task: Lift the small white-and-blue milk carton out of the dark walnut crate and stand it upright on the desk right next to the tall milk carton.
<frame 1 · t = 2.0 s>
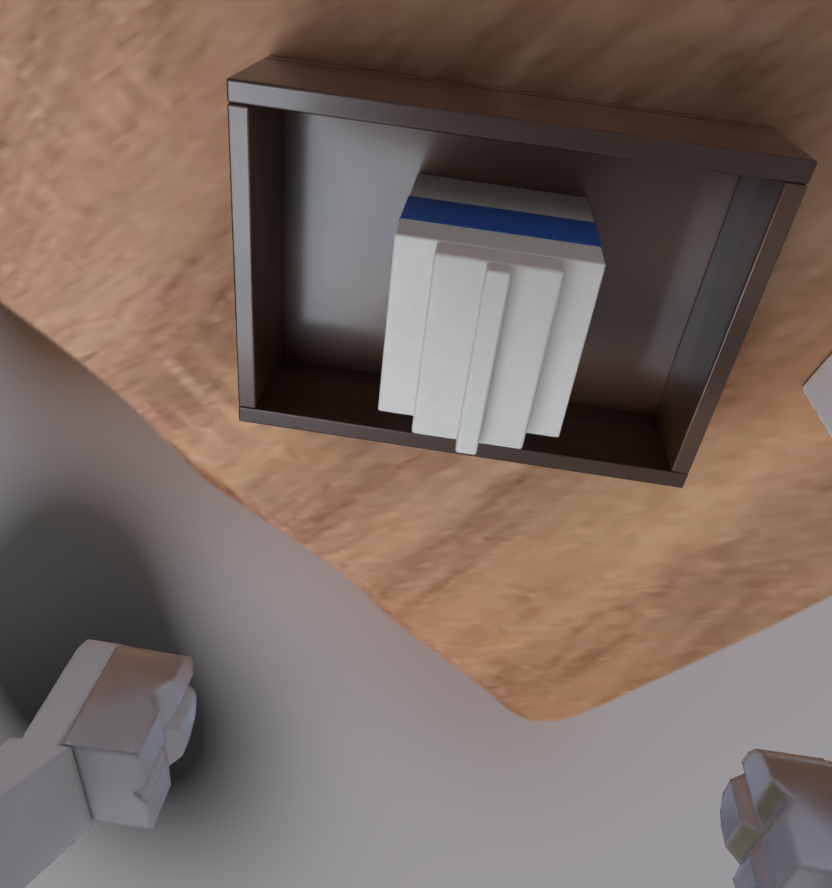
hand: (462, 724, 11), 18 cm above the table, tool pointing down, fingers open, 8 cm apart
crate: (488, 260, 25), on the table
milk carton: (488, 266, 25), resting on crate
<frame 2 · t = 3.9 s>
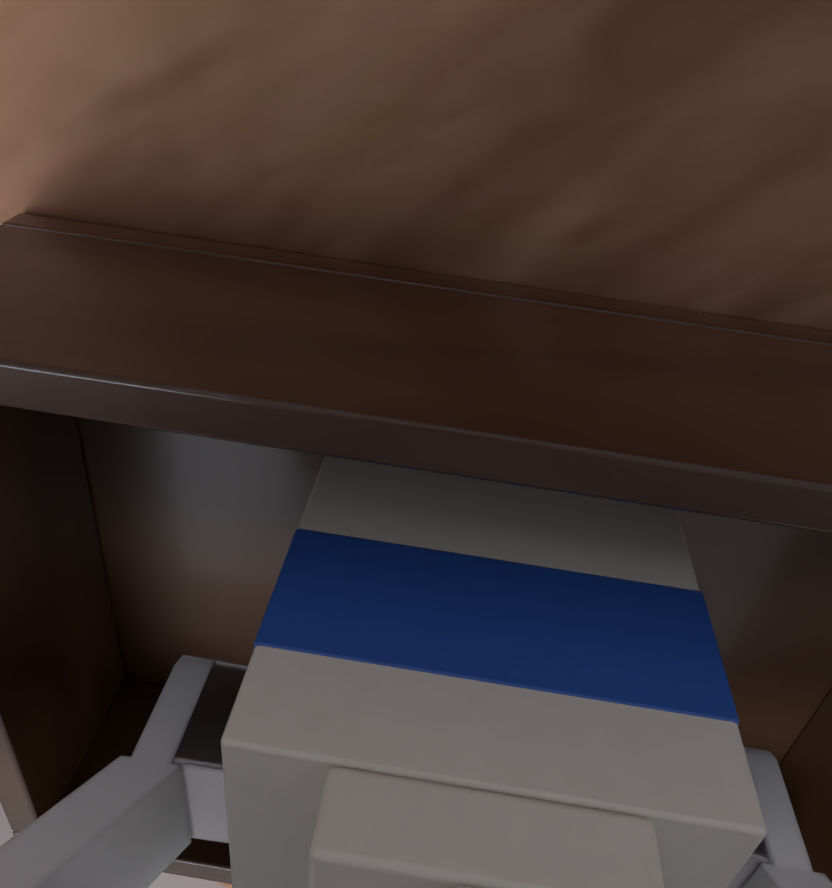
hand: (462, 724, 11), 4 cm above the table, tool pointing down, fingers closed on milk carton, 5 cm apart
crate: (476, 555, 14), on the table
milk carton: (474, 574, 13), resting on crate, touching gripper
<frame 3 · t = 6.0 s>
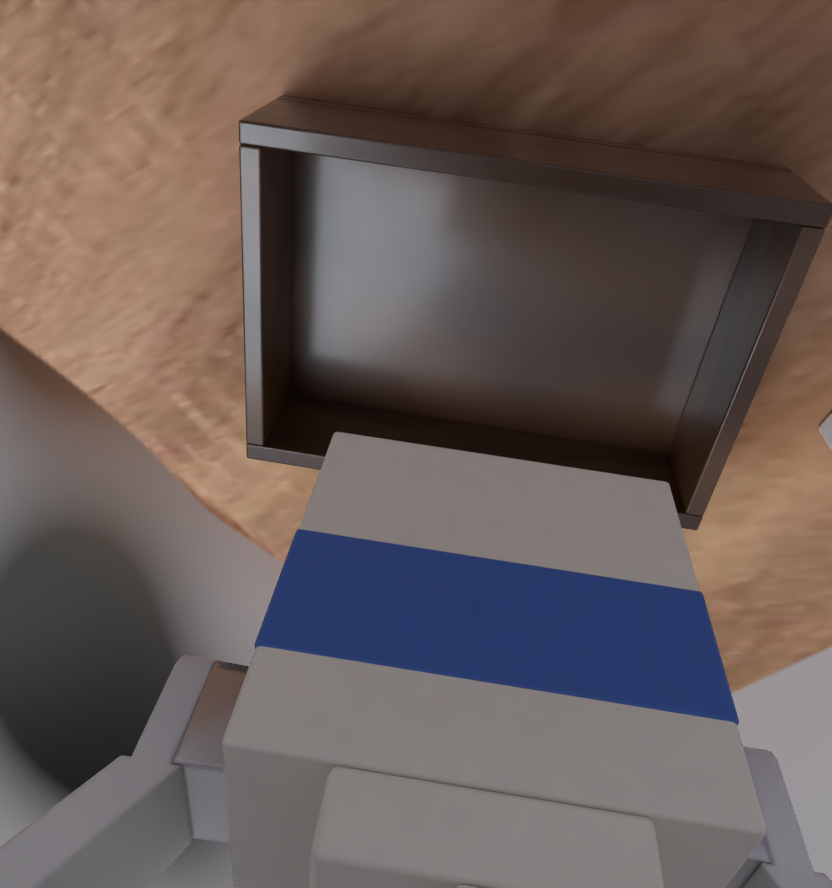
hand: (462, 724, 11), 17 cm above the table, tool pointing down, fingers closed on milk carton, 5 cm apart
crate: (499, 298, 25), on the table
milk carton: (475, 574, 13), point 14 cm above the table, touching gripper
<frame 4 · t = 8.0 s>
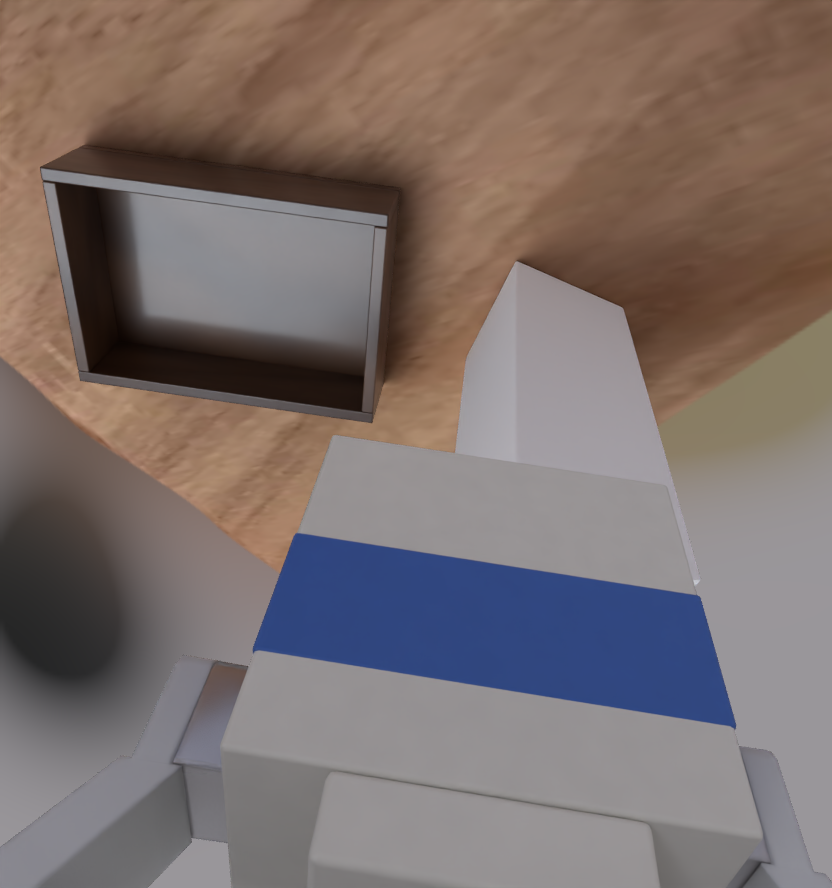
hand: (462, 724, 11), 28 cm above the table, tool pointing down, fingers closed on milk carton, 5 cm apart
crate: (244, 273, 38), on the table
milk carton: (473, 577, 13), point 25 cm above the table, touching gripper
milk: (541, 331, 38), on the table
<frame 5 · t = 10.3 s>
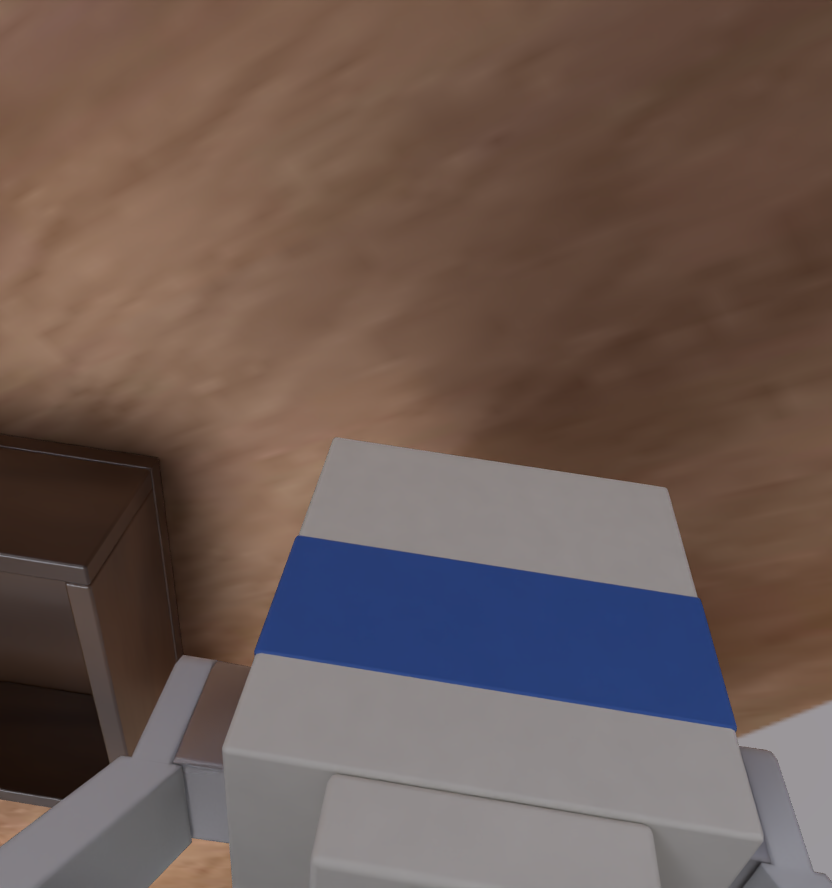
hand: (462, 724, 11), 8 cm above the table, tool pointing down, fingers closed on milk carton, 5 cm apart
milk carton: (474, 579, 13), point 5 cm above the table, touching gripper
when the fingers open (3 cm above the table, at t = 12.1 s): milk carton stays where it is, on the table.
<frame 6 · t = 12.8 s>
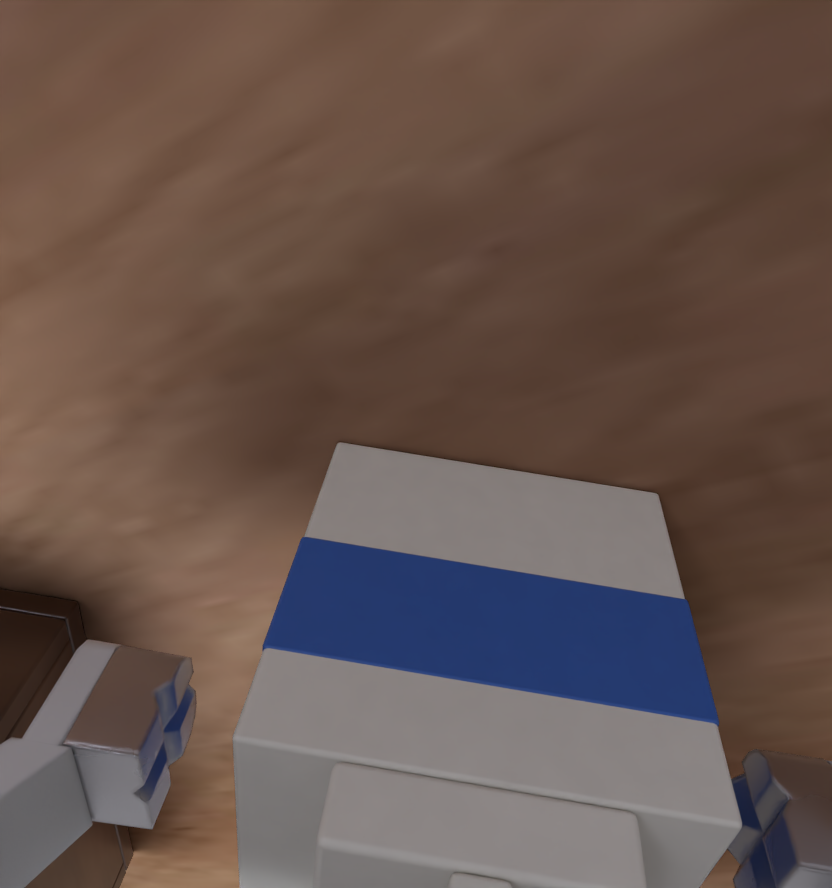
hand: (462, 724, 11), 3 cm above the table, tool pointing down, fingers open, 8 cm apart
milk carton: (471, 580, 14), on the table
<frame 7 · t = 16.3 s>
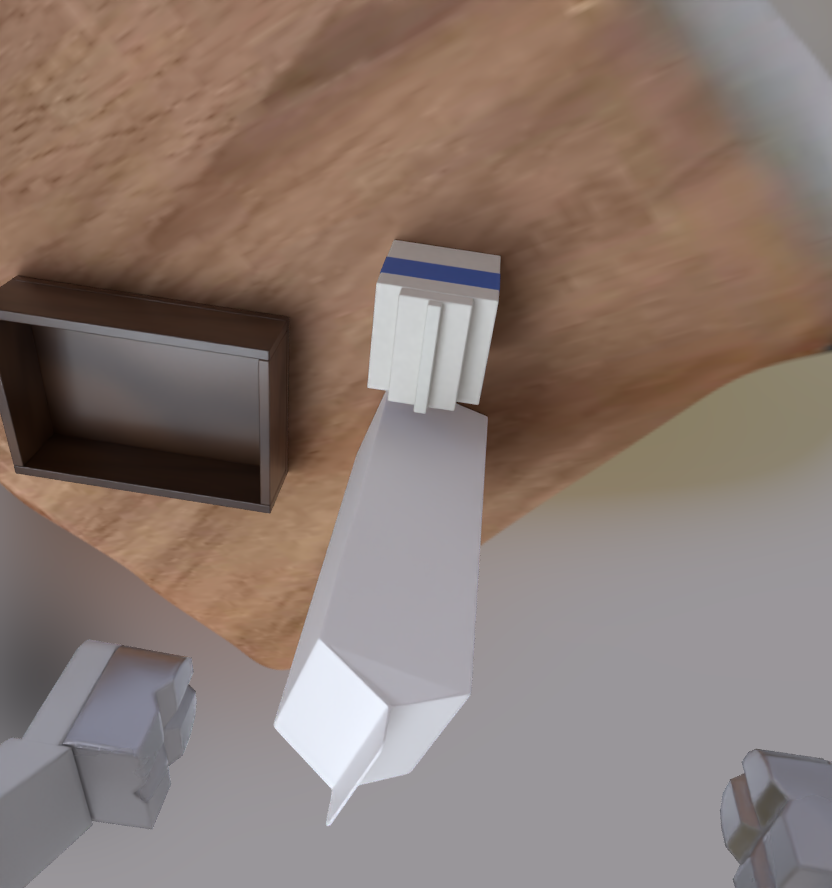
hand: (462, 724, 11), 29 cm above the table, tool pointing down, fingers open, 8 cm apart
crate: (161, 380, 43), on the table
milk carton: (440, 297, 38), on the table
milk: (421, 433, 43), on the table
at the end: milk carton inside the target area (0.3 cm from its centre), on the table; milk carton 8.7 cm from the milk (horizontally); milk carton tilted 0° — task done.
